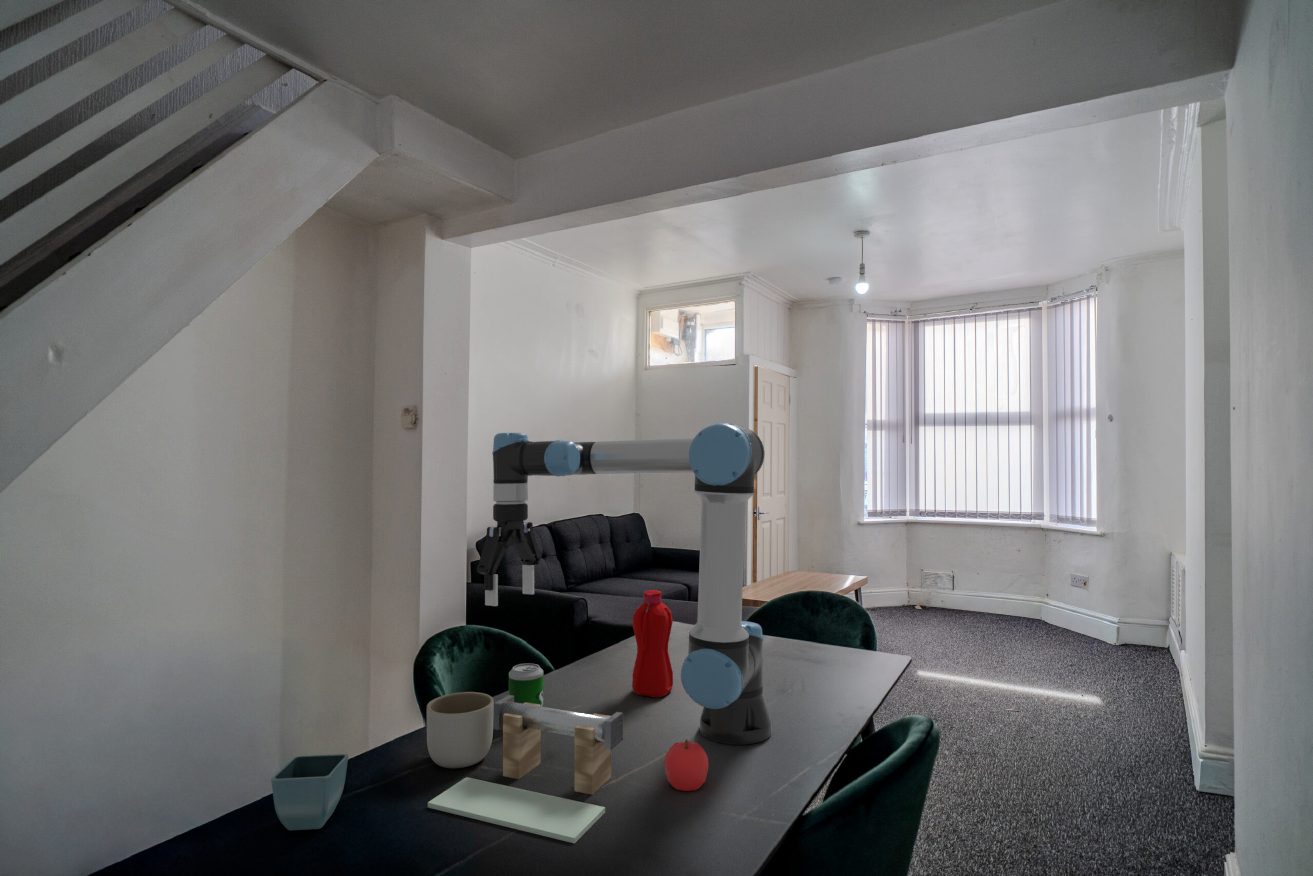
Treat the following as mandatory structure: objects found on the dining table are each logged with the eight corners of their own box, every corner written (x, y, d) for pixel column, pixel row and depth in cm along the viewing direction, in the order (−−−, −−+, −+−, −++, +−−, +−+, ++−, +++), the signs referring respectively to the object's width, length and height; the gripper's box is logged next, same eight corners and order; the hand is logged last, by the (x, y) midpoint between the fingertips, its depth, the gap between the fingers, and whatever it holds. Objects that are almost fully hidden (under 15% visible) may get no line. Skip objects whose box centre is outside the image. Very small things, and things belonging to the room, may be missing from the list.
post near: (611, 777, 126) (611, 716, 126) (592, 794, 120) (592, 730, 120) (594, 773, 128) (594, 713, 128) (574, 791, 121) (574, 727, 121)
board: (605, 812, 114) (605, 807, 114) (574, 843, 104) (574, 838, 104) (466, 781, 125) (466, 777, 125) (427, 807, 115) (427, 802, 115)
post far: (540, 763, 132) (540, 704, 132) (519, 779, 125) (519, 717, 126) (525, 760, 133) (525, 702, 134) (502, 776, 127) (503, 715, 127)
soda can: (535, 730, 148) (535, 673, 149) (502, 727, 150) (503, 671, 150) (548, 717, 156) (548, 663, 156) (516, 715, 157) (516, 661, 157)
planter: (432, 780, 125) (432, 718, 126) (421, 754, 136) (421, 698, 137) (500, 765, 131) (500, 707, 131) (484, 742, 142) (484, 688, 142)
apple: (664, 775, 127) (664, 731, 127) (708, 775, 127) (707, 731, 127) (663, 796, 119) (663, 749, 119) (710, 797, 119) (709, 749, 119)
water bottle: (625, 698, 168) (625, 594, 169) (643, 684, 178) (642, 586, 179) (660, 702, 165) (660, 596, 165) (676, 688, 175) (676, 588, 176)
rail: (622, 740, 124) (622, 712, 124) (610, 750, 120) (610, 722, 120) (508, 720, 134) (508, 695, 134) (493, 729, 129) (493, 703, 129)
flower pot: (293, 810, 115) (294, 755, 115) (348, 807, 115) (349, 753, 116) (268, 839, 106) (269, 779, 106) (328, 836, 107) (329, 777, 107)
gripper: (528, 499, 166) (528, 588, 165) (459, 505, 143) (459, 609, 143) (555, 499, 163) (555, 590, 162) (489, 506, 140) (489, 612, 140)
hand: (510, 599), depth 152 cm, fingers open, 13 cm apart
